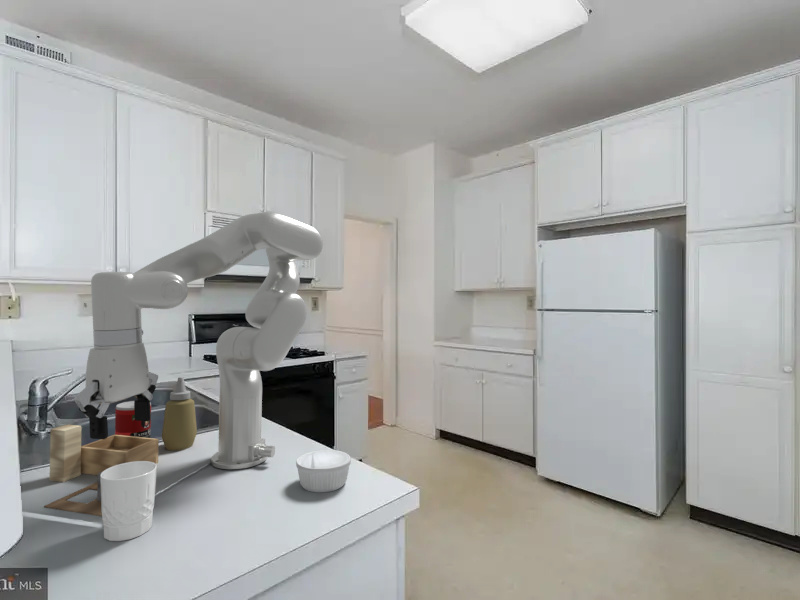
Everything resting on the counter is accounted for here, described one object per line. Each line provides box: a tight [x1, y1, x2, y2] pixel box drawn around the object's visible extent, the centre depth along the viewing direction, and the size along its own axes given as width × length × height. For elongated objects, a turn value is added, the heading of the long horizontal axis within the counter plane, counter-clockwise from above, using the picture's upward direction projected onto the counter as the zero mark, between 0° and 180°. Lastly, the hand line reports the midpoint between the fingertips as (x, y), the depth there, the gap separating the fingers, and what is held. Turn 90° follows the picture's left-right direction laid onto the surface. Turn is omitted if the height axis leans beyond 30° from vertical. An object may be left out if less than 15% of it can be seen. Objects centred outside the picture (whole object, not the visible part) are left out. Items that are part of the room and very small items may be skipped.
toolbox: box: [81, 434, 160, 476], centre depth 94 cm, size 12×9×6 cm
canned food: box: [114, 400, 152, 438], centre depth 109 cm, size 8×8×11 cm
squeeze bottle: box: [161, 376, 198, 452], centre depth 109 cm, size 8×8×18 cm
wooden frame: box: [43, 472, 102, 517], centre depth 80 cm, size 13×10×6 cm
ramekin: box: [295, 449, 352, 493], centre depth 90 cm, size 11×11×5 cm
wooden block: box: [49, 423, 82, 483], centre depth 89 cm, size 4×4×11 cm
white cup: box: [100, 461, 158, 542], centre depth 70 cm, size 8×8×10 cm
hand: (122, 428), depth 80 cm, fingers open, 9 cm apart
